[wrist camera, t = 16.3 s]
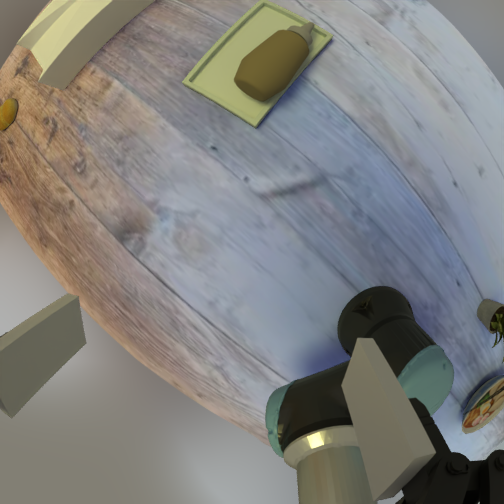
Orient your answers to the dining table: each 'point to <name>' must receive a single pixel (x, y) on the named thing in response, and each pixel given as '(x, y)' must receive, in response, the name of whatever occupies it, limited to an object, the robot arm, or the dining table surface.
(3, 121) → the bread roll
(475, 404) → the ramen bowl
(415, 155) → the dining table surface
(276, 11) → the tray
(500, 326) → the house plant
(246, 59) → the squeeze bottle
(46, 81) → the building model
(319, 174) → the dining table surface
